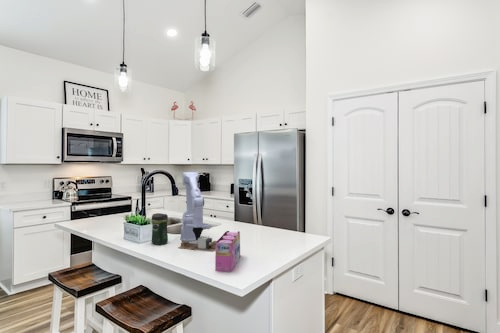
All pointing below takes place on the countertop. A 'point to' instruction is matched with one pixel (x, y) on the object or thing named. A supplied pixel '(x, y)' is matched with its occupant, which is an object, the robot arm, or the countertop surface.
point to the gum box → (227, 251)
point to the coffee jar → (159, 228)
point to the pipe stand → (195, 247)
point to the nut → (208, 243)
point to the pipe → (193, 242)
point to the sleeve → (202, 242)
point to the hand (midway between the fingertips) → (197, 240)
